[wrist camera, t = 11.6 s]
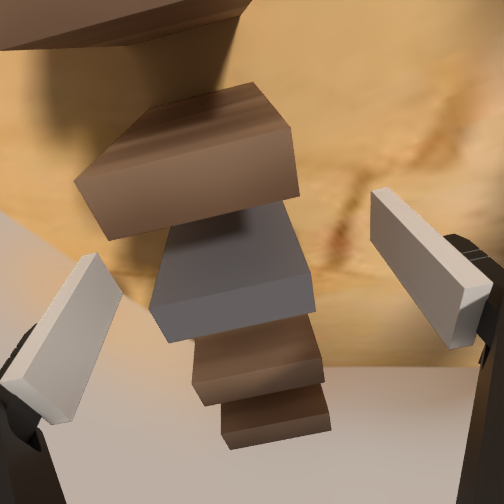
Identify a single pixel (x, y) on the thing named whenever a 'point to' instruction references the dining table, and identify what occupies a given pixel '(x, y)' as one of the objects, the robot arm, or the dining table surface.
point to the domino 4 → (256, 360)
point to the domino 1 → (104, 21)
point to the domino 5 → (274, 417)
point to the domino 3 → (231, 274)
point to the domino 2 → (192, 163)
